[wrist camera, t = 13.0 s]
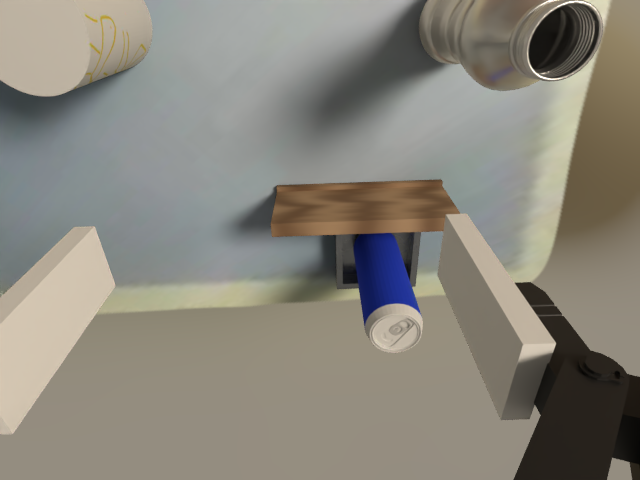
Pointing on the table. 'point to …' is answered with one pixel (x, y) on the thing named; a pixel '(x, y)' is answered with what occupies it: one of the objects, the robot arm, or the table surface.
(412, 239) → the tray
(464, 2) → the plastic bottle
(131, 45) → the cup
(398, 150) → the table surface
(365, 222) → the board
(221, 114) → the table surface
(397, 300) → the beverage can
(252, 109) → the table surface
